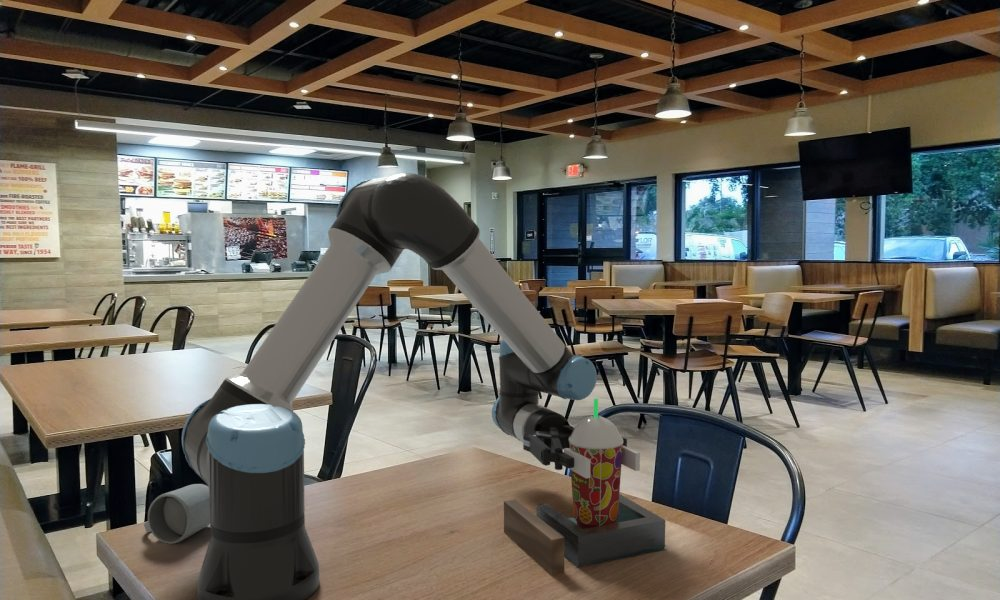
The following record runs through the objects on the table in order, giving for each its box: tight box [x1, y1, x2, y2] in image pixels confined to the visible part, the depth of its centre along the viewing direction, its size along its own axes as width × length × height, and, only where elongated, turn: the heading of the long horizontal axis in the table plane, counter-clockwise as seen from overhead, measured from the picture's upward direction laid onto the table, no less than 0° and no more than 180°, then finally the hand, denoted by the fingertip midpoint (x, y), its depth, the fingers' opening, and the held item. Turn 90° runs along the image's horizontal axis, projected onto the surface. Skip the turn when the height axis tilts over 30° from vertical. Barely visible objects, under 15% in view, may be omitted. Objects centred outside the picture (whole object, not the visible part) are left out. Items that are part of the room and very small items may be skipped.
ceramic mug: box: [143, 483, 210, 545], centre depth 107 cm, size 11×8×8 cm
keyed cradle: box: [535, 493, 666, 568], centre depth 105 cm, size 15×15×4 cm
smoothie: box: [569, 398, 624, 529], centre depth 104 cm, size 8×8×20 cm
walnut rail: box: [503, 499, 565, 576], centre depth 100 cm, size 2×16×5 cm, turn 24°
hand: (613, 465), depth 100 cm, fingers closed on smoothie, 8 cm apart
